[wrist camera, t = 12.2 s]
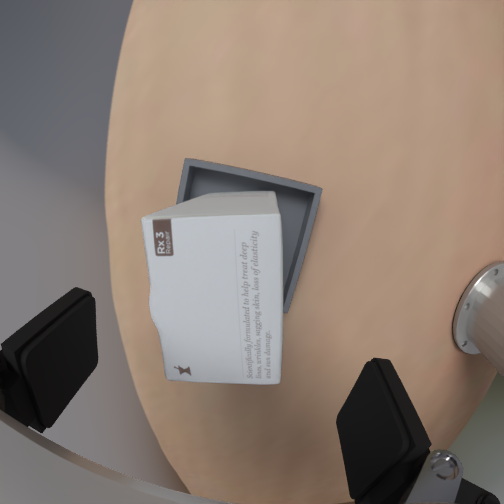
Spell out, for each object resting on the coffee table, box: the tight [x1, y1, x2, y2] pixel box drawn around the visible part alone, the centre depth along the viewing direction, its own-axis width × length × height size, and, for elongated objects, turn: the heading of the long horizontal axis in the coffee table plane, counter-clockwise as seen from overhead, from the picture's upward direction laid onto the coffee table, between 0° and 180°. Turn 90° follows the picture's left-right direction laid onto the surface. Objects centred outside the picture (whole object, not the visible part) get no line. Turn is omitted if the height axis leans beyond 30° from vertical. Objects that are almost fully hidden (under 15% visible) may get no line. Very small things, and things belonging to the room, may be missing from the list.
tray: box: [176, 158, 322, 313], centre depth 25 cm, size 11×11×3 cm
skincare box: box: [141, 191, 283, 385], centre depth 19 cm, size 8×6×15 cm
